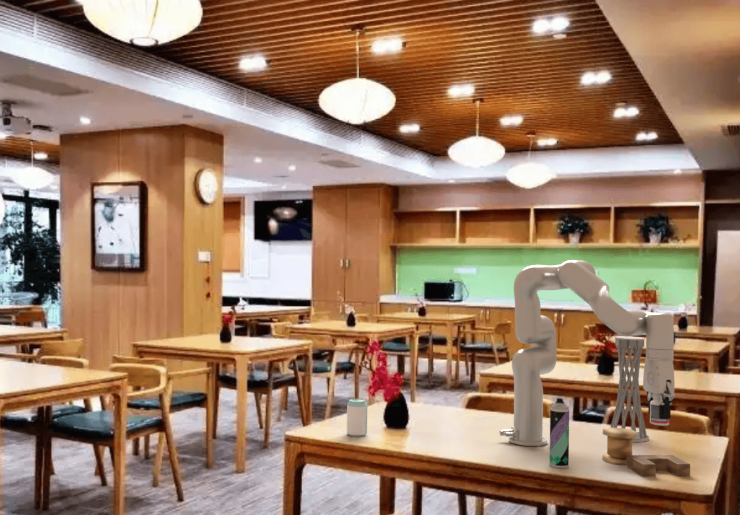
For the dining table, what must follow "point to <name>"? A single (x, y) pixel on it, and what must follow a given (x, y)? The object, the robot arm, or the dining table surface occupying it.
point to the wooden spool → (618, 445)
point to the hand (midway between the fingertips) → (659, 415)
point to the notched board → (657, 465)
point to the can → (357, 417)
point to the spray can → (559, 434)
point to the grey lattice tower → (622, 344)
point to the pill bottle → (656, 411)
